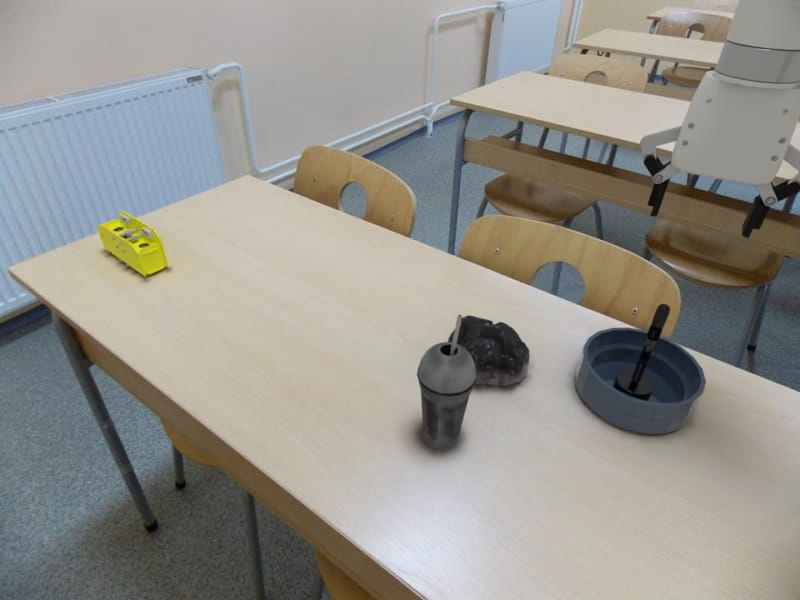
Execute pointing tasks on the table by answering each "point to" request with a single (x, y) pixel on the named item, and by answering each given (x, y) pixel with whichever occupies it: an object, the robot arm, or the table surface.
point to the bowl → (666, 367)
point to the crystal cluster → (493, 350)
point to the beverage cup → (445, 390)
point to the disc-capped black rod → (643, 361)
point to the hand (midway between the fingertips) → (698, 222)
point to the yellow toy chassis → (134, 243)
